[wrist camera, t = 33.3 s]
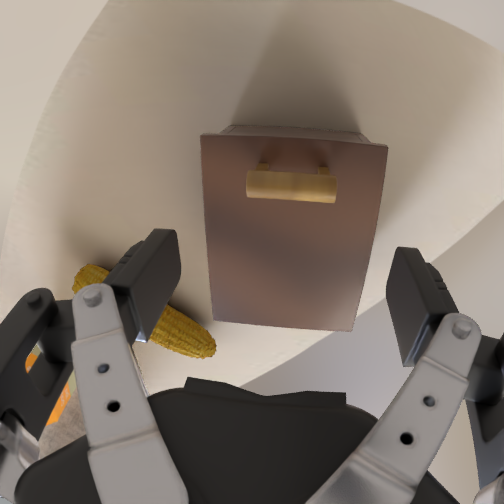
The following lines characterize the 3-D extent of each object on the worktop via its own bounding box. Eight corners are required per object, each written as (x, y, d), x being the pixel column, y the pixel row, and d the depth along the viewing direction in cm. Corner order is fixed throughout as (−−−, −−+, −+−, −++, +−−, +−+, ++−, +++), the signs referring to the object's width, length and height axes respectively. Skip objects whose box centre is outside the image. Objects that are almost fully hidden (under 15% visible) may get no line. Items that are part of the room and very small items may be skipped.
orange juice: (58, 347, 54) (10, 422, 37) (54, 319, 49) (-4, 401, 32) (90, 364, 55) (46, 445, 38) (89, 338, 50) (35, 428, 33)
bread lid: (202, 133, 21) (177, 149, 17) (385, 144, 20) (407, 163, 15) (215, 314, 30) (201, 354, 25) (350, 325, 28) (355, 367, 24)
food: (86, 278, 42) (65, 303, 37) (92, 250, 39) (68, 275, 34) (213, 347, 45) (203, 379, 40) (229, 325, 42) (220, 358, 37)
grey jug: (116, 422, 68) (65, 550, 34) (59, 384, 63) (-6, 510, 30) (135, 412, 62) (77, 562, 28) (70, 368, 57) (-8, 516, 24)
